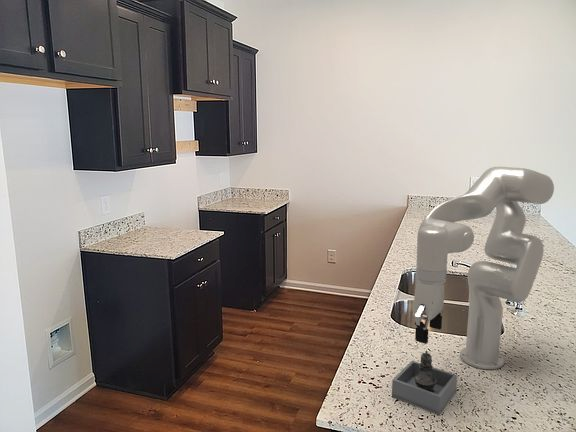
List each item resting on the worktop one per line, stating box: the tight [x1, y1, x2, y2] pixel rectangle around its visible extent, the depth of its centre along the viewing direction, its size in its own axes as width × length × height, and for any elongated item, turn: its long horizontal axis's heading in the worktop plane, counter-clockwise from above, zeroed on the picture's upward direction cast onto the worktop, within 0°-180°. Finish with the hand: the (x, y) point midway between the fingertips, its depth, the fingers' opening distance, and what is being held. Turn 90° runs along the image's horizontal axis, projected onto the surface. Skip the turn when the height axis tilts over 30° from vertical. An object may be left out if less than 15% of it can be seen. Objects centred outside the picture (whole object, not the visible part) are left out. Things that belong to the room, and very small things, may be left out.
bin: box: [391, 360, 458, 416], centre depth 123 cm, size 13×13×5 cm
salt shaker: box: [414, 350, 436, 393], centre depth 122 cm, size 6×6×12 cm
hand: (428, 334), depth 120 cm, fingers open, 9 cm apart
